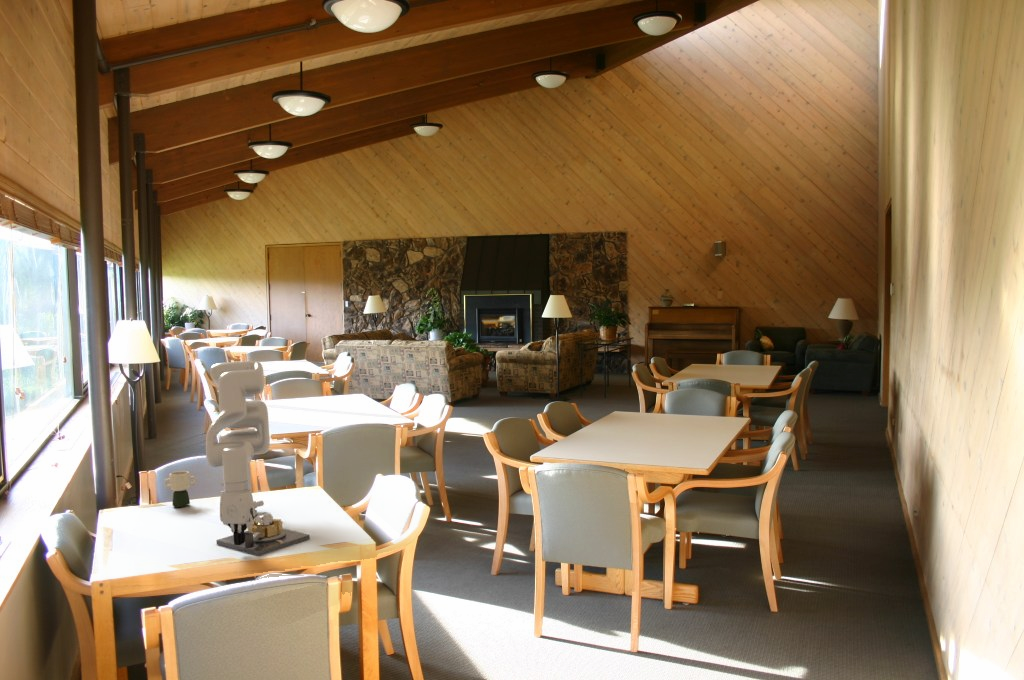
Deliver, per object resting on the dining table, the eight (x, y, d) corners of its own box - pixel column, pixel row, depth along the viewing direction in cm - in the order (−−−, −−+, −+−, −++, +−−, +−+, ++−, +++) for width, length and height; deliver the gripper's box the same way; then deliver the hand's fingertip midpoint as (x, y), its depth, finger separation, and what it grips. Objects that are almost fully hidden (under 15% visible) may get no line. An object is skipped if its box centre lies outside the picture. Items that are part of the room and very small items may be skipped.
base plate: (267, 529, 295) (266, 504, 294) (309, 539, 282) (308, 513, 281) (216, 544, 279) (215, 518, 278) (258, 556, 266) (257, 529, 265)
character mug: (197, 502, 334) (195, 469, 334) (195, 507, 328) (193, 473, 327) (167, 505, 331) (165, 472, 331) (165, 510, 325) (163, 476, 324)
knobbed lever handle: (255, 529, 286) (255, 515, 286) (286, 528, 286) (285, 515, 285) (231, 548, 266) (230, 534, 266) (264, 548, 265) (263, 533, 265)
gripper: (208, 487, 266) (211, 545, 267) (249, 490, 261) (252, 549, 262) (224, 482, 273) (227, 538, 274) (264, 484, 268) (267, 542, 269)
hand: (239, 543), depth 268 cm, fingers closed
